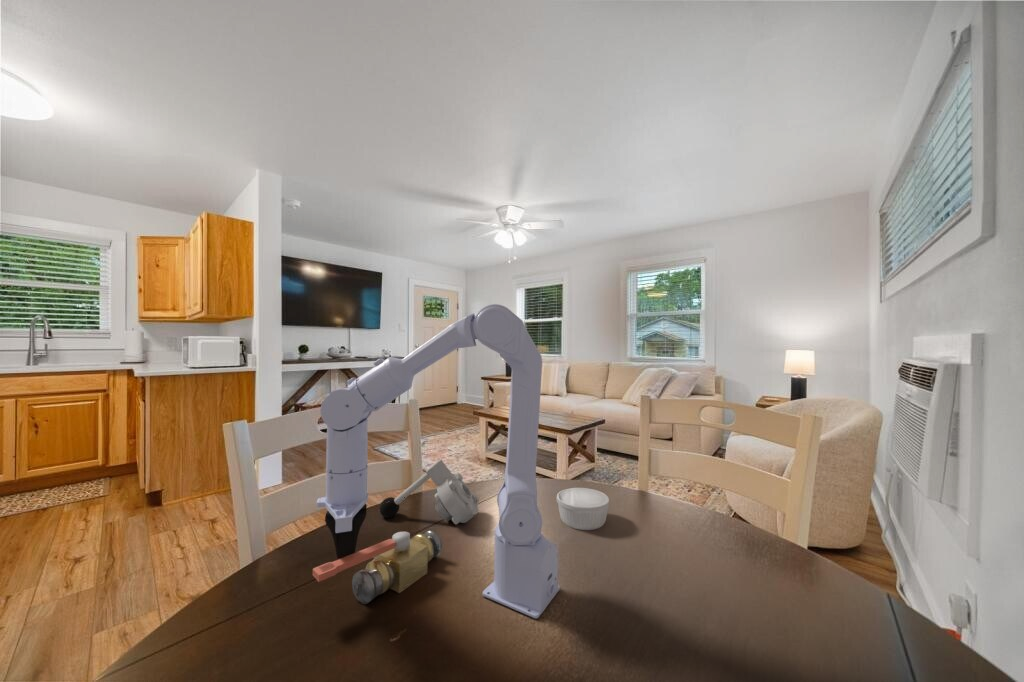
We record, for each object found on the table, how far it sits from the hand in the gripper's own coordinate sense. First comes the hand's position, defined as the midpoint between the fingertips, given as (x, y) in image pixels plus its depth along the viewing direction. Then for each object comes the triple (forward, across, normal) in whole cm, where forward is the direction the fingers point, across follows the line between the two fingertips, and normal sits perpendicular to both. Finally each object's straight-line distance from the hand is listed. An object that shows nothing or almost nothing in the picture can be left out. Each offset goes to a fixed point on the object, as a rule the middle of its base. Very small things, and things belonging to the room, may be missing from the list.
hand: (345, 558), depth 57 cm
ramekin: (+6, -10, +47) cm, 48 cm away
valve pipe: (+6, -2, +8) cm, 10 cm away
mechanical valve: (+6, -22, +15) cm, 27 cm away
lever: (+1, 0, +3) cm, 3 cm away
